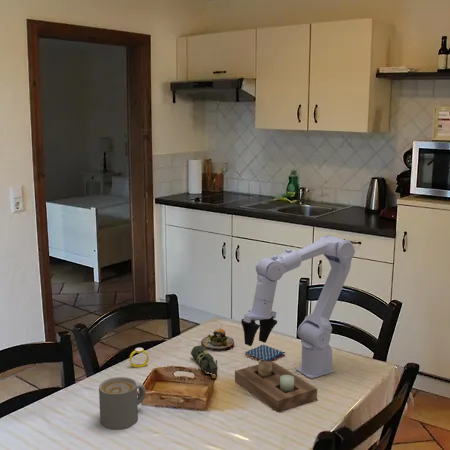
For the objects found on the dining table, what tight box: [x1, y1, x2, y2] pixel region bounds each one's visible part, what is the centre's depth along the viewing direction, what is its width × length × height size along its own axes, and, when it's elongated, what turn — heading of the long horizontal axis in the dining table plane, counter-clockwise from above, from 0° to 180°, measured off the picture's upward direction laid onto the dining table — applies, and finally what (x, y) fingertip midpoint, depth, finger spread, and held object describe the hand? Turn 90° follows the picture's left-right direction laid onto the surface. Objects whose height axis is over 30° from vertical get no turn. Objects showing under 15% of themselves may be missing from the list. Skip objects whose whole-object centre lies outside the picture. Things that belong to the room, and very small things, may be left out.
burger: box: [200, 324, 235, 350], centre depth 203 cm, size 12×12×8 cm
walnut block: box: [234, 361, 318, 413], centre depth 170 cm, size 14×22×4 cm, turn 31°
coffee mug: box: [98, 376, 146, 431], centre depth 154 cm, size 13×10×10 cm
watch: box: [129, 347, 150, 368], centre depth 186 cm, size 6×3×6 cm, turn 107°
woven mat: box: [244, 344, 286, 363], centre depth 195 cm, size 10×11×2 cm
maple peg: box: [257, 361, 272, 378], centre depth 174 cm, size 4×4×4 cm
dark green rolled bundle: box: [190, 345, 219, 377], centre depth 185 cm, size 6×5×18 cm
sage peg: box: [280, 375, 294, 392], centre depth 164 cm, size 4×4×4 cm
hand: (255, 343), depth 170 cm, fingers open, 7 cm apart
